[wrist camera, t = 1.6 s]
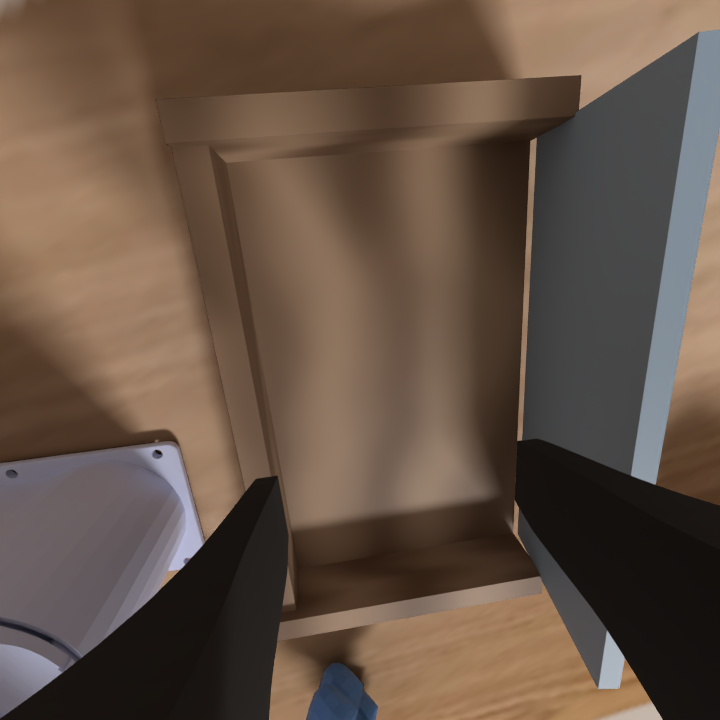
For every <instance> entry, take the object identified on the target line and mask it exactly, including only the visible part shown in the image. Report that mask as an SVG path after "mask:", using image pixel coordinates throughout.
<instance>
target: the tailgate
mask: <svg viewBox="0 0 720 720" xmlns="http://www.w3.org/2000/svg"><path fill="white" fill-rule="evenodd" d="M719 128H720V30H712V31H704V32H698V33H697V34H695V35H694V36H692V37H691V38H689V39H688V40H686V41H685V42H683V43H682V44H680V45H678V46H677V47H675V48H674V49H672V50H671V51H669V52H668V53H666V54H665V55H663V56H662V57H660V58H658V59H657V60H655V61H654V62H652V63H651V64H649V65H648V66H646V67H645V68H643V69H642V70H640V71H639V72H637V73H635V74H634V75H632V76H631V77H629V78H628V79H626V80H625V81H623V82H622V83H620V84H619V85H617V86H616V87H614V88H612V89H611V90H609V91H608V92H606V93H605V94H603V95H602V96H600V97H599V98H597V99H596V100H594V101H593V102H591V103H589V104H588V105H586V106H585V107H583V108H582V109H580V110H579V111H577V112H576V113H575V116H574V117H573V118H571V119H570V120H568V121H566V122H565V123H563V124H562V125H560V126H558V127H556V128H554V129H552V130H550V131H548V132H546V133H544V134H542V135H540V136H539V137H537V147H536V168H535V188H534V209H533V230H532V250H531V271H530V291H529V312H528V333H527V353H526V374H525V394H524V415H523V436H522V440H529V439H536V438H537V439H540V440H544V441H547V442H549V443H552V444H555V445H557V446H560V447H562V448H565V449H567V450H569V451H572V452H574V453H577V454H579V455H581V456H584V457H586V458H589V459H591V460H593V461H596V462H598V463H601V464H603V465H606V466H608V467H610V468H613V469H615V470H618V471H620V472H623V473H625V474H628V475H631V476H633V477H636V478H638V479H641V480H644V481H646V482H649V483H652V484H655V485H656V480H657V475H658V469H659V464H660V458H661V452H662V447H663V441H664V436H665V430H666V424H667V419H668V413H669V408H670V402H671V396H672V391H673V385H674V380H675V374H676V368H677V363H678V357H679V352H680V346H681V340H682V335H683V329H684V324H685V318H686V312H687V307H688V301H689V296H690V290H691V284H692V279H693V273H694V268H695V262H696V257H697V251H698V245H699V240H700V234H701V229H702V223H703V217H704V212H705V206H706V201H707V195H708V189H709V184H710V178H711V173H712V167H713V161H714V156H715V150H716V145H717V139H718V133H719ZM518 535H519V537H520V539H521V541H522V543H523V545H524V547H525V549H526V551H527V553H528V554H529V556H530V558H531V560H532V561H533V563H534V564H535V566H536V568H537V570H538V572H539V574H540V576H541V580H542V582H543V583H544V585H545V587H546V589H547V591H548V593H549V595H550V597H551V599H552V601H553V603H554V605H555V607H556V609H557V611H558V612H559V614H560V616H561V618H562V620H563V622H564V624H565V626H566V628H567V630H568V632H569V634H570V636H571V638H572V639H573V641H574V643H575V645H576V647H577V649H578V651H579V653H580V655H581V657H582V659H583V661H584V663H585V665H586V667H587V668H588V670H589V672H590V674H591V676H592V678H593V680H594V682H595V684H596V686H597V688H598V689H615V688H619V687H620V682H621V676H622V671H623V665H624V659H625V657H624V656H623V654H622V653H621V651H620V650H619V648H618V646H617V645H616V643H615V642H614V640H613V639H612V637H611V636H610V634H609V632H608V631H607V629H606V628H605V626H604V625H603V623H602V622H601V621H600V619H599V618H598V616H597V615H596V614H595V612H594V611H593V609H592V608H591V607H590V605H589V604H588V603H587V601H586V600H585V599H584V597H583V596H582V595H581V594H580V592H579V591H578V590H577V588H576V587H575V586H574V584H573V583H572V582H571V581H570V579H569V578H568V577H567V575H566V574H565V573H564V571H563V570H562V569H561V568H560V566H559V565H558V564H557V562H556V561H555V560H554V559H553V557H552V556H551V555H550V553H549V552H548V551H547V549H546V548H545V547H544V545H543V544H542V543H541V541H540V540H539V539H538V537H537V536H536V535H535V533H534V532H533V530H532V529H531V527H530V525H529V524H528V522H527V520H526V519H525V517H524V515H523V514H522V512H521V510H520V508H519V518H518Z"/></svg>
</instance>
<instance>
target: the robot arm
mask: <svg viewBox="0 0 720 720" xmlns="http://www.w3.org/2000/svg"><path fill="white" fill-rule="evenodd" d="M155 450H160V451H161V452H162V454H163V455H159V454H157V453H156V452H155ZM12 470H14V471H16V472H17V474H16V473H14V472H13V471H12ZM515 501H516V503H517V505H518V506H519V508H520V510H521V512H522V514H523V515H524V517H525V519H526V520H527V522H528V524H529V525H530V527H531V529H532V530H533V532H534V533H535V535H536V536H537V537H538V539H539V540H540V541H541V543H542V544H543V545H544V547H545V548H546V549H547V551H548V552H549V553H550V555H551V556H552V557H553V559H554V560H555V561H556V562H557V564H558V565H559V566H560V568H561V569H562V570H563V571H564V573H565V574H566V575H567V577H568V578H569V579H570V581H571V582H572V583H573V584H574V586H575V587H576V588H577V590H578V591H579V592H580V594H581V595H582V596H583V597H584V599H585V600H586V601H587V603H588V604H589V605H590V607H591V608H592V609H593V611H594V612H595V614H596V615H597V616H598V618H599V619H600V621H601V622H602V623H603V625H604V626H605V628H606V629H607V631H608V632H609V634H610V636H611V637H612V639H613V640H614V642H615V643H616V645H617V646H618V648H619V650H620V651H621V653H622V654H623V656H624V657H625V659H626V660H627V662H628V664H629V665H630V667H631V668H632V670H633V671H634V673H635V675H636V676H637V678H638V680H639V681H640V683H641V685H642V686H643V688H644V689H645V691H646V693H647V694H648V696H649V698H650V699H651V701H652V703H653V704H654V706H655V707H656V709H657V711H658V712H659V714H660V716H661V717H662V719H663V720H720V506H718V505H715V504H712V503H709V502H705V501H702V500H699V499H696V498H693V497H689V496H686V495H683V494H680V493H677V492H674V491H671V490H668V489H665V488H663V487H660V486H657V485H655V484H652V483H649V482H646V481H644V480H641V479H638V478H636V477H633V476H631V475H628V474H625V473H623V472H620V471H618V470H615V469H613V468H610V467H608V466H606V465H603V464H601V463H598V462H596V461H593V460H591V459H589V458H586V457H584V456H581V455H579V454H577V453H574V452H572V451H569V450H567V449H565V448H562V447H560V446H557V445H555V444H552V443H549V442H547V441H544V440H540V439H537V438H536V439H529V440H522V441H517V458H516V481H515ZM288 542H289V534H288V529H287V523H286V518H285V512H284V507H283V501H282V496H281V490H280V485H279V479H278V476H271V477H264V478H257V479H255V480H254V482H253V483H252V484H251V485H250V487H249V488H248V489H247V490H246V492H245V493H244V494H243V496H242V497H241V498H240V500H239V501H238V502H237V504H236V505H235V506H234V507H233V509H232V510H231V511H230V513H229V514H228V515H227V516H226V518H225V519H224V520H223V521H222V523H221V524H220V525H219V526H218V528H217V529H216V530H215V531H214V533H213V534H212V535H211V536H210V537H209V539H208V540H207V541H206V542H205V541H204V537H203V533H202V530H201V526H200V522H199V518H198V515H197V511H196V507H195V503H194V500H193V496H192V492H191V489H190V485H189V481H188V477H187V474H186V470H185V466H184V463H183V459H182V455H181V451H180V448H179V446H178V445H177V444H176V443H175V442H172V441H164V442H157V443H149V444H142V445H134V446H127V447H119V448H112V449H104V450H97V451H89V452H82V453H74V454H66V455H59V456H51V457H44V458H36V459H29V460H21V461H14V462H6V463H0V720H269V709H270V694H271V683H272V675H273V666H274V659H275V652H276V646H277V639H278V632H279V626H280V619H281V612H282V606H283V599H284V592H285V585H286V578H287V569H288ZM187 558H191V559H187ZM179 569H181V570H180V571H179V572H178V573H177V574H176V575H175V576H174V577H173V578H172V579H171V580H170V581H169V582H168V583H167V584H166V585H165V586H164V587H162V588H161V589H160V587H161V585H162V582H163V580H164V578H165V576H166V574H167V572H168V571H173V570H179ZM159 589H160V590H159Z"/></svg>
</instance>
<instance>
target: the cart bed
mask: <svg viewBox="0 0 720 720" xmlns="http://www.w3.org/2000/svg"><path fill="white" fill-rule="evenodd" d="M580 88H581V75H578V76H560V77H542V78H525V79H507V80H489V81H472V82H454V83H436V84H419V85H401V86H383V87H366V88H348V89H331V90H313V91H295V92H278V93H260V94H242V95H225V96H207V97H189V98H172V99H156V103H157V108H158V112H159V117H160V122H161V126H162V131H163V135H164V140H165V143H166V144H167V145H168V146H170V147H171V149H172V153H173V158H174V162H175V167H176V172H177V176H178V181H179V186H180V190H181V195H182V199H183V204H184V209H185V213H186V218H187V223H188V227H189V232H190V236H191V241H192V246H193V250H194V255H195V260H196V264H197V269H198V273H199V278H200V283H201V287H202V292H203V297H204V301H205V306H206V310H207V315H208V320H209V324H210V329H211V334H212V338H213V343H214V347H215V352H216V357H217V361H218V366H219V371H220V375H221V380H222V384H223V389H224V394H225V398H226V403H227V408H228V412H229V417H230V421H231V426H232V431H233V435H234V440H235V445H236V449H237V454H238V458H239V463H240V468H241V472H242V477H243V482H244V486H245V491H246V490H247V489H248V488H249V487H250V485H251V484H252V483H253V482H254V480H255V479H257V478H264V477H271V476H278V479H279V485H280V490H281V496H282V501H283V507H284V512H285V518H286V523H287V529H288V534H289V542H288V569H287V578H286V585H285V592H284V599H283V606H282V612H281V619H280V626H279V632H278V639H277V641H283V640H288V639H294V638H299V637H305V636H310V635H316V634H321V633H327V632H332V631H338V630H343V629H349V628H354V627H360V626H365V625H371V624H376V623H382V622H387V621H393V620H398V619H404V618H409V617H415V616H420V615H426V614H431V613H437V612H442V611H448V610H453V609H458V608H464V607H469V606H475V605H480V604H486V603H491V602H497V601H502V600H508V599H513V598H519V597H524V596H530V595H535V594H541V593H542V580H541V576H540V574H539V572H538V570H537V568H536V566H535V564H534V563H533V561H532V560H531V558H530V557H529V555H528V554H527V552H526V551H525V550H524V548H523V547H522V545H521V544H520V542H519V541H518V540H517V538H516V537H515V535H514V534H513V523H514V500H515V477H516V454H517V431H518V408H519V385H520V363H521V340H522V317H523V294H524V271H525V248H526V226H527V203H528V180H529V157H530V141H531V140H533V139H535V138H537V137H539V136H540V135H542V134H544V133H546V132H548V131H550V130H552V129H554V128H556V127H558V126H560V125H562V124H563V123H565V122H566V121H568V120H570V119H571V118H573V117H574V116H575V113H576V112H577V111H579V100H580Z"/></svg>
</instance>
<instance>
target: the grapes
mask: <svg viewBox="0 0 720 720" xmlns="http://www.w3.org/2000/svg"><path fill="white" fill-rule="evenodd" d="M363 686H364V685H363V684H362V683H361V681H360V680H359V679H358V678H357V677H356V676H355V674H354V673H353V672H352V671H351V670H350V669H349V668H347V667H346V666H345V665H344V664H342V663H331V664H330V665H329V666H328V667H327V669H326V670H325V671H324V674H323V677H322V679H321V682H320V686H319V688H318V690H317V691H316V692H315V693H314V696H313V699H312V701H311V704H310V707H309V710H308V714H307V718H306V720H376V715H377V709H378V706H377V705H376V704H375V702H374V701H373V700H372V699H371V698H370V696H369V695H368V694H367V693H366V692H365V691H364V690H363Z"/></svg>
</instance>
